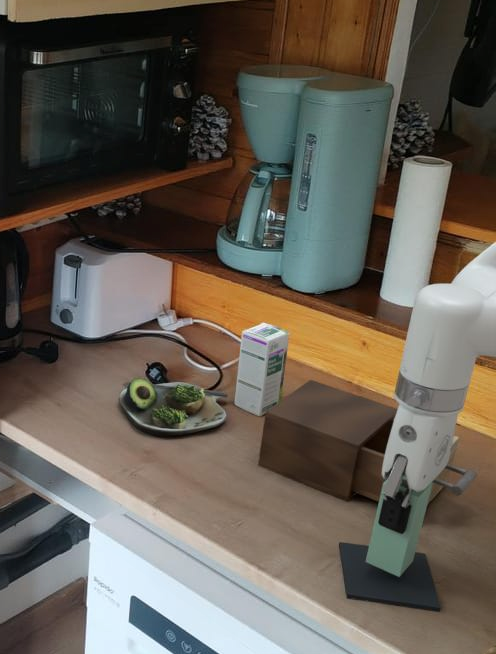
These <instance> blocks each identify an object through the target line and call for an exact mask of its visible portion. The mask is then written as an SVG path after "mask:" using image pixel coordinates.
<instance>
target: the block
mask: <svg viewBox="0 0 496 654" xmlns="http://www.w3.org/2000/svg"><path fill="white" fill-rule="evenodd" d="M403 479H405V480H407V478H406V477H403ZM387 480H388V479H387ZM387 480H386V481H385V482H384V483H383V486H382V491H381V495H380V500H379V502H378V505H377V509H376V514H375V518H374V522H373V527H372V532H371V536H370V539H369V544H368V546H369V549H368V553H367V557H366V562H367V563H369V564H371V565H374V566H376V567H378V568H380V569H383V570H385V571H387V572H389V573H391V574H394V575H396V576H398V577H400V576H401V575H402V573H403V572H404V571H405V570H406V569H407V568H408V566H409V565H410V564H411V563H412V562H413V559H414V555H415V552H417V547H418V543H419V540H420V535H421V531H422V527H423V524H424V523H423V522H424V519H425V515H426V511H427V507H428V505H429V503H428V500H429V496H430V492H431V488H432V484H433V482H431V483H430V484H429V485H428V486H427V487H426V488H425V489H424V490H422V491H420V492H416V491H415V490H413V493H412V496H411V499H410V503H409V505H410V506H412V507H411V511H410V515H409V519H408V523H407V527H406V531H405V532H404V533H403V534H400V533H397V532H395V531H392V530H390V529H388V528H385V527H383V526H381V525H379V523H378V521H379V516H380V512H381V508H382V503H383V497H384V495H383V490H384V487H385V485H386V483H387ZM406 489H407V488H405V487H402V486H400V487H399V491H400V492H402V493H403V494H404V495H405V492H406ZM427 504H428V505H427Z"/></svg>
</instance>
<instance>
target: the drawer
mask: <svg viewBox="0 0 496 654" xmlns="http://www.w3.org/2000/svg"><path fill="white" fill-rule="evenodd" d="M393 422H394V418H393V419H392V420H391V421H390V422H389V423H388V424H387V425H386V426H384V427H383V428H382V429H381V430H380V431H379V432H378V433H377V434H375V435H374V436H373V437H372V438H371V439H370V440H369V441H367V442H366V443H365V444H364V445H363V446H362V447H361V448H360V451H359V456H358V461H357V466H356V471H355V476H354V480H353V485H352V490H351V491H353V492H356V494H358V495H360V496H363V497H366V498H368V499H371V500H373V501H376V502H378V503H379V500H380V495H381V491H382V486H383V483H384V482H385V481H386V480H387V479H386V480H385V479H384V478H383V476H382V466H383V461H384V456H385V452H386V448H387V444H388V440H389V436H390V433H391V429H392V426H393ZM459 441H460V437H459V436H457V435H454V438H453V443H452V447H451V452H450V457H449V461H448V463H447V465H446V467H445V468H444V469H443V470H442V471H441V473H440V474H439V475H438V476H437V477H436V478H435V479H434V480H433V481H432V482H433V484H432V488H431V492H430V496H429V500H428V504H427V506H428V505H429V504H430V503H431V502H432V500H433V499H435V497H436V496H437V495H438V494H439V492H440V491H441V490H442V489H443V488H446V489H448V490H451V493H452V494H453V495H455V496H461V495H462V494H463V493H464V492H465V490H467V489H468V487H469V486H470V485H471V484H472V482H474V480H475V479H476V478H477V476H478V472H477V471H476V470H475V469H472V468H470V469H467V470H466V469H465V468H461V467H458V466H455V465H453V464H454V460H455V456H456V454H457V453H456V452H457V448H458V444H459ZM451 472H454V473H456V474H459V475H462V476H461V477H460V478H459V479H458V480H457V482H456V483H454V484H453V483H450V482H449V480H450V475H451Z"/></svg>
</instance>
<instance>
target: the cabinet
mask: <svg viewBox="0 0 496 654" xmlns="http://www.w3.org/2000/svg"><path fill="white" fill-rule="evenodd" d="M397 410H398V407H397V408H396V407H393V406H391V405H387V404H384V403H383V402H382V403H381V402H378V401H375V400H372V399H370V398H367V397H364V396H360V395H357V394H354V393H353V392H352V393H351V392H348V391H346V390H342V389H340V388H337V387H333V386H331V385H327V384H326V383H322V382H319V381H316V380H313V379H309V380H308V381H307V382H305V383H304V384H302V385H301V386H299V387H298V388H297V389H295V390H294V391H292V392H291V393H290V394H288V395H287V396H286V397H284V398H283V399H281V401H280V402H278V403H277V404H276V405H274V406H273V407H271V408H270V409H269V410H267V411H266V413H265V414H264V420H263V421H264V422H263V427H262V436H261V441H260V449H259V456H258V463H257V466H259V467H262V468H263V469H267V470H268V471H271V472H274V473H276V474H279V475H281V476H284V477H286V478H288V479H291V480H293V481H296V482H298V483H301V484H302V485H305V486H307V487H310V488H313V489H315V490H317V491H320V492H322V493H325V494H327V495H330V496H332V497H334V498H337V499H339V500H342V501H344V502H347V503H348V502H349V501H350V500H351V499H352V498H353V497H354V496H355V495H356V494H357V493H356V492H353V491H351V490H352V485H353V480H354V476H355V471H356V466H357V461H358V456H359V451H360V448H361V447H362V446H363V445H364V444H365V443H366V442H367V441H369V440H370V439H371V438H372V437H373V436H374V435H375V434H377V433H378V432H379V431H380V430H381V429H382V428H383V427H384V426H386V425H387V424H388V423H389V422H390V421H391V420H392V419H393V418H395V416H396V413H397Z"/></svg>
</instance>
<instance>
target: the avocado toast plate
mask: <svg viewBox="0 0 496 654" xmlns="http://www.w3.org/2000/svg"><path fill="white" fill-rule="evenodd" d="M121 385H122V386H123V387H124V389H123V390H122V391H121V392H120V394H119V396H118V402H119V404H120V407H121V409H122V411H123V414H124V415H125V417H126V418H127V420H128V422H129V421H130V422H131V423H130V422H129V423H130V424H131V425H132V427H134V426H135V427H134V428H135V429H137V430H139V431H141V432H142V433H144V434H147V435H150V436H154V437H174V436H181V435H189V434H193V433H197V432H201V431H204V430H208V429H211V428H215V427H218V426H219V425H221V424H223V423H224V422H225V421H226V419H227V418H228V414H227V412H226V411H225V410H224V408H222V406H221V405H219V403H217V400H221V399H226V398H228V397H229V393H228V392H225V391H217V390H209V389H205V388H204V387H202V388H201V386H198V385H195V384H191V383H187V382H183V381H175V382H174V381H173V382H167V383H166V382H165V383H158V384H152V383H151V382H150V381H148V380H147V379H144V378H135V379H133V380H131V381H127V382H123V383H122V384H121Z"/></svg>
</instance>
